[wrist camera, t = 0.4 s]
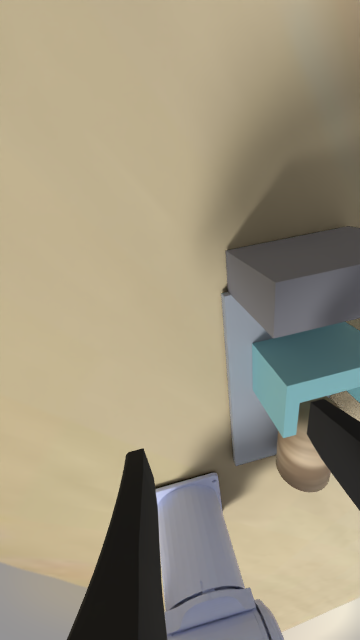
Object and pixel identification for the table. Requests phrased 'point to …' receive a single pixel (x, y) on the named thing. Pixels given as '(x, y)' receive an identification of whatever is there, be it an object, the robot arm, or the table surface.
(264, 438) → the board
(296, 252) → the backstop wall
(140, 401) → the table surface
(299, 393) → the teal arch
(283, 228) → the table surface
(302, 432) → the dowel
